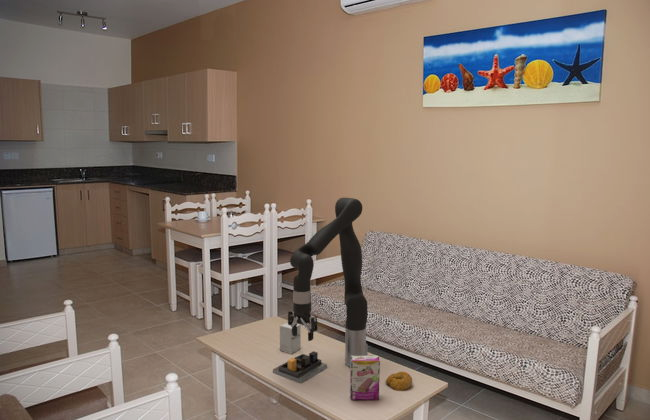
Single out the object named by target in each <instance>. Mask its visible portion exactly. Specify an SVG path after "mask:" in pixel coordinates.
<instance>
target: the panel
mask: <svg viewBox="0 0 650 420" xmlns="http://www.w3.org/2000/svg"><path fill="white" fill-rule="evenodd" d="M292 358H293V359H296V370H297V371H292V370H289V369H288V361H286V362H283V363H281V364H280V365H278V366H276V367H275V368H272V374H276V375H278V376H280V377H284V378H287V379H289V380H291V381H294V382H296V383H299V384H303V383H304V382H306V381H308V380H309V379H311V378H312V377H314V376H316V375H318V374H319V373H321V372H323V371H324V370H325V369H327V368H328V364H327V363H324V362H322V359H320V358H319V355H318V351H311V352H309V354H304V353H302V354H299V355H297V356H295V357H292Z"/></svg>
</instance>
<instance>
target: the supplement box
mask: <svg viewBox="0 0 650 420" xmlns="http://www.w3.org/2000/svg"><path fill="white" fill-rule="evenodd" d="M301 333H302V332H301V324H297V335H296V336H293V334H292V327H291V325H288V321H287V322H286V323H283V324H281V325H279V350H280V352H281V351H282V352H284V353H286V354H289V355H291V354H293V353H295V352H297V351H300V350H301V346H302V345H301V342H302V341H301V338H302V335H301Z"/></svg>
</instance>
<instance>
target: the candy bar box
mask: <svg viewBox="0 0 650 420" xmlns="http://www.w3.org/2000/svg"><path fill="white" fill-rule="evenodd" d="M380 364H381V360H380V357H379V355H368V356H351V364H350V367H349V368H350V369H349V370H350V371H349V372H350V375H349V377H350V378H349V395H350V400H351V401H370V400H371V401H375V400H377V401H378V400H379V399H380V372H381V371H380V366H381V365H380Z"/></svg>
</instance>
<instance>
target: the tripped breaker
mask: <svg viewBox="0 0 650 420" xmlns="http://www.w3.org/2000/svg"><path fill="white" fill-rule="evenodd" d="M293 358H294V357H291V358H290V359H288V360H287V362H288V369H289V370H292V371H297V370H296V359H293Z"/></svg>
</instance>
